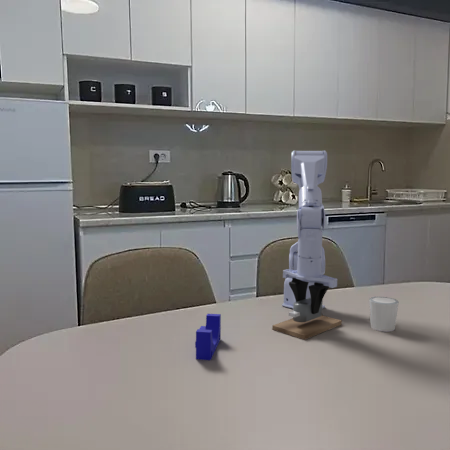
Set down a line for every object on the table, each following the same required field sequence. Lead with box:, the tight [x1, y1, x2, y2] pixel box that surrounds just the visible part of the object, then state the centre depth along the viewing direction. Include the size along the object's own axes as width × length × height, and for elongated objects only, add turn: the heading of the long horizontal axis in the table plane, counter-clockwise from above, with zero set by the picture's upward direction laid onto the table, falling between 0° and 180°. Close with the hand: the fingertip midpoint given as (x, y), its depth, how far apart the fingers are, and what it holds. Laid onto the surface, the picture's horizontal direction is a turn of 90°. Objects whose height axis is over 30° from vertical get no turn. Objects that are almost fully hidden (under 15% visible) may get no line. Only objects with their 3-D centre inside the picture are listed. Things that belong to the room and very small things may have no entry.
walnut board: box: [271, 314, 343, 341], centre depth 113 cm, size 10×16×1 cm, turn 134°
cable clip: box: [194, 313, 222, 361], centre depth 99 cm, size 12×4×6 cm, turn 171°
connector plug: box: [288, 297, 324, 322], centre depth 112 cm, size 4×11×4 cm, turn 134°
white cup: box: [368, 296, 399, 333], centre depth 113 cm, size 7×7×7 cm
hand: (308, 311), depth 113 cm, fingers closed on connector plug, 3 cm apart
